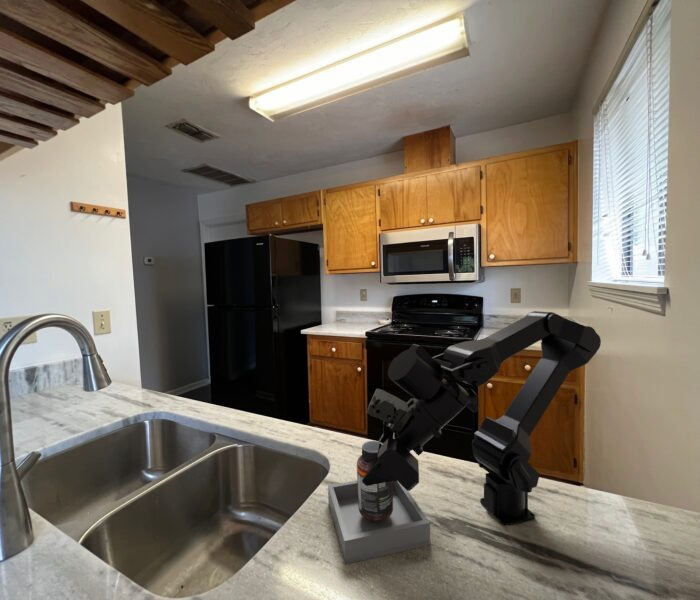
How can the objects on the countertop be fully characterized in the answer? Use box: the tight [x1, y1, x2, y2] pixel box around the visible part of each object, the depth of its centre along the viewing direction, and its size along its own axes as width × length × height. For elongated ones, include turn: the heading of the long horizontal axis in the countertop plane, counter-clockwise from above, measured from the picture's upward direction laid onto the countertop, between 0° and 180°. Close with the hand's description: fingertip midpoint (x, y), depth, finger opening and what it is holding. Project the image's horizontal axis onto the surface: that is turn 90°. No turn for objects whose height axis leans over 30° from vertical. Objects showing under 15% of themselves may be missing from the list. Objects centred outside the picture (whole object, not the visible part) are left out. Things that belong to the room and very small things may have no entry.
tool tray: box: [327, 480, 431, 565], centre depth 54 cm, size 14×14×4 cm
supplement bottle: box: [356, 440, 393, 522], centre depth 54 cm, size 6×6×11 cm
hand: (366, 471), depth 54 cm, fingers closed on supplement bottle, 6 cm apart
